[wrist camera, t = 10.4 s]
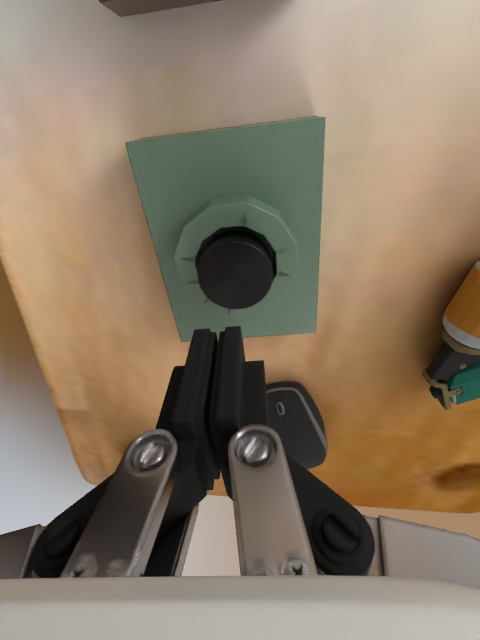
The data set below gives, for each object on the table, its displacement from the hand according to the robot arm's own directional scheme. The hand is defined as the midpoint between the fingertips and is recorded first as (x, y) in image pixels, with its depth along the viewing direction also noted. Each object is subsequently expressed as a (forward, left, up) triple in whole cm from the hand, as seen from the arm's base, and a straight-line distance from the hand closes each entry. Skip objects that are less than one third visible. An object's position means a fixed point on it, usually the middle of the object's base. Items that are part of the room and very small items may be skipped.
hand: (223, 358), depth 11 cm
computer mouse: (+20, +3, -12) cm, 23 cm away
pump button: (0, 0, -8) cm, 8 cm away
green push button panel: (0, 0, -12) cm, 12 cm away
